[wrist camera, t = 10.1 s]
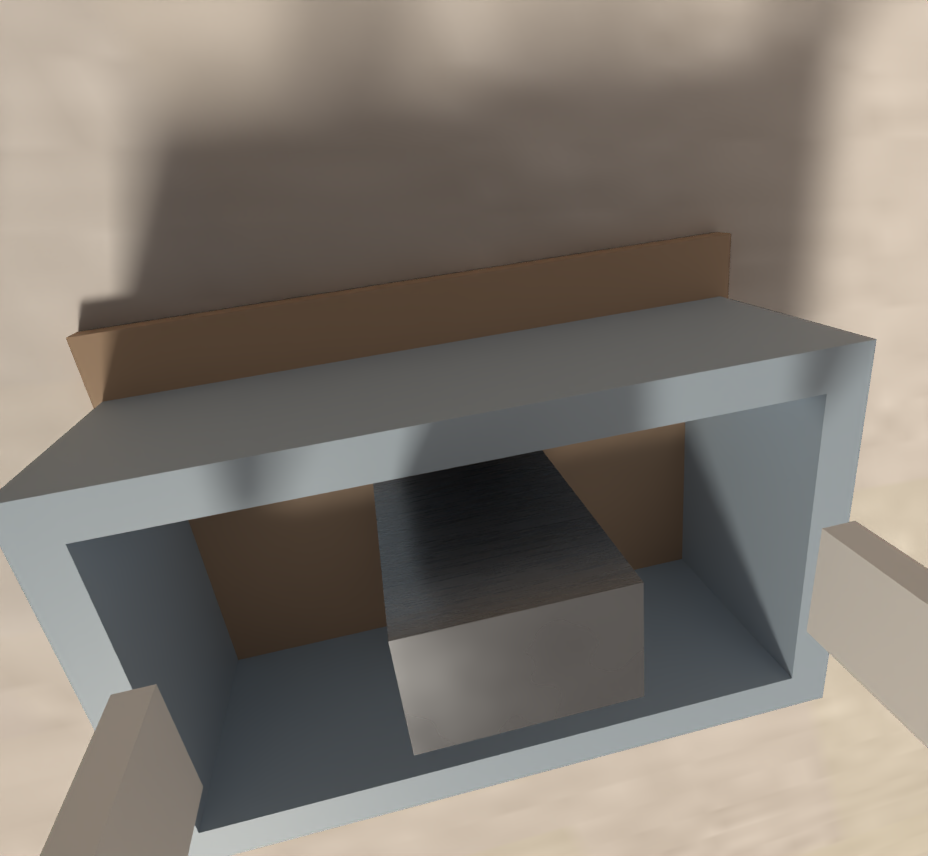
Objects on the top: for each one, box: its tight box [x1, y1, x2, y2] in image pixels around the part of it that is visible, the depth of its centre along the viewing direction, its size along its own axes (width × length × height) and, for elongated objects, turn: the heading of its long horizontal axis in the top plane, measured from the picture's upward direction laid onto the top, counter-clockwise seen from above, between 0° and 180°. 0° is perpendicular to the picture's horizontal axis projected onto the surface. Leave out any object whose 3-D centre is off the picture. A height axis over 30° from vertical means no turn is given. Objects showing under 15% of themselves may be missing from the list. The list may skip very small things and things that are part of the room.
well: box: [0, 232, 876, 856], centre depth 19 cm, size 16×21×7 cm
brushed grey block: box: [373, 450, 645, 756], centre depth 17 cm, size 6×5×10 cm
